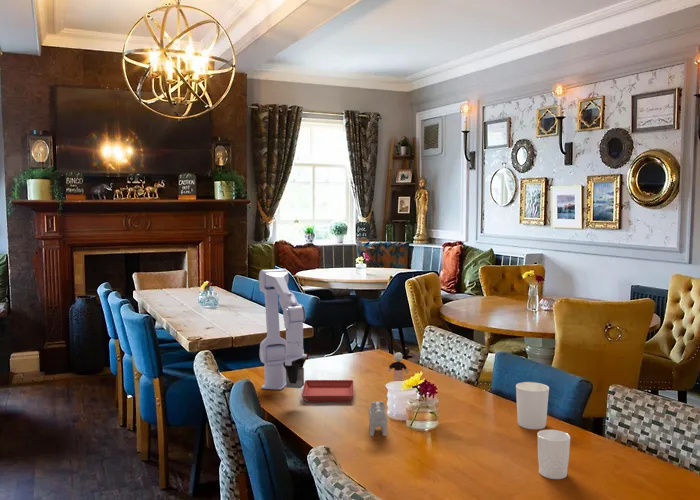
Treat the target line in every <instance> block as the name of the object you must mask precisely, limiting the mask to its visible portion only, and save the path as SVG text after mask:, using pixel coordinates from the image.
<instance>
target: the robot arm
mask: <svg viewBox="0 0 700 500" xmlns="http://www.w3.org/2000/svg"><path fill="white" fill-rule="evenodd" d="M258 273H259V274H258V284H259V285H258V288H259V292H262V293H263V295H264V304H265V305H264V307H265V323H266V337H265V338H264V339H263V340H262V341H261V342H260V344H259V359H260V362H261V363H263V364H264V384H263V385H261V387H260V389H265V390H283V389H284V388H286V371H287V374H288V378H289V382H290V383H294V384H296V382H297V374H298V370H299V367H302V368H304V365H305V362H306V361H307V356H308V355H307V354H305V350H304V323H305V321H306V314H307V313H306V308H305V306H304V304H301V303H299V302H298V300H297V297H296V296H295V294H294V293H293V292H292V291H290V290H289V287H288V284H289V277H290V276H289V272H288V270H287V269H286V268H277V269H275V268H274V269H261V270H260V271H259V272H258ZM279 305H280V307H281V309H282V312H283V313H282V318H283V322H284V323H283V324H284V329H285V338H283V337H281V333H280V331H281V329H280V316H279V315H280V312H279Z"/></svg>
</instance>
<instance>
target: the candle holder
mask: <svg viewBox="0 0 700 500" xmlns="http://www.w3.org/2000/svg"><path fill="white" fill-rule="evenodd" d="M515 390H516V391H515V392H516V393H515V394H516V395H515V397H516V413H517V414H516V416H517V425H518V426H519V427H521V428H523V429H529V430H543V429H545V427H546V426H547V420H548V419H547V416H548V406H549V405H548V403H549V394H550V393H549V392H550V387H549V386H548V385H547V384H544V383H542V382H541V383H540V382H535V381H523V382H518V383H516V384H515Z"/></svg>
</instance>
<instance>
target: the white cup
mask: <svg viewBox="0 0 700 500" xmlns="http://www.w3.org/2000/svg"><path fill="white" fill-rule="evenodd" d="M536 434H537V435H536V436H537V458H538V459H537V462H538V473H539V474H540V475H541V476H542V477H544V478H547V479H550V480H562V479H565V478H566V477H567V476H568V475H567V474H568V467H569V460H570V447H571V446H570V445H571V436H570V435H569V433H567V432H565V431H561V430H558V429H541V430H539V431H538V432H537V433H536Z"/></svg>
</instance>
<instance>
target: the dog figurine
mask: <svg viewBox="0 0 700 500" xmlns="http://www.w3.org/2000/svg"><path fill="white" fill-rule="evenodd" d="M385 410H386V405H385V403H384V401H382V400H380V401H376V402H375V401H372V402H371V404H370V407H369V408H368V422H369V424H368V426H369V427H368V428H369V436H370V437H374V436H375V432H376V431H375V430H376V428H377V427H380V428H381V432H382V433H381V434H382V436H383V437H385V436H386V437H387V435H388V434H387V432H388V431H387V428H388V427H387V426H388V416H387V413H386V411H385Z"/></svg>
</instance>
